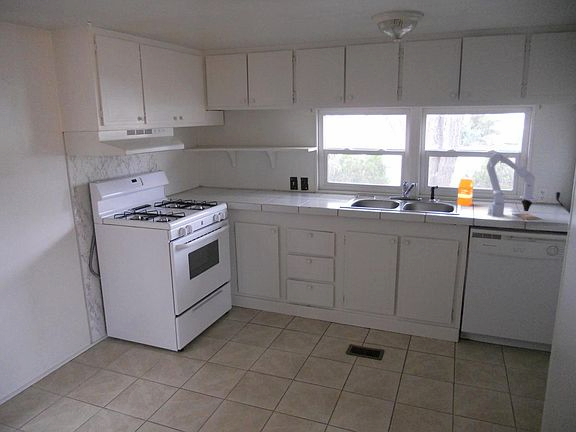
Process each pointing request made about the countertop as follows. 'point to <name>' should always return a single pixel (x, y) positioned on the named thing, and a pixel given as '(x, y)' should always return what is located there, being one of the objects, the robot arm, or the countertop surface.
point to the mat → (523, 218)
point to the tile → (527, 216)
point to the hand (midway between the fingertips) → (526, 211)
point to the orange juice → (465, 192)
